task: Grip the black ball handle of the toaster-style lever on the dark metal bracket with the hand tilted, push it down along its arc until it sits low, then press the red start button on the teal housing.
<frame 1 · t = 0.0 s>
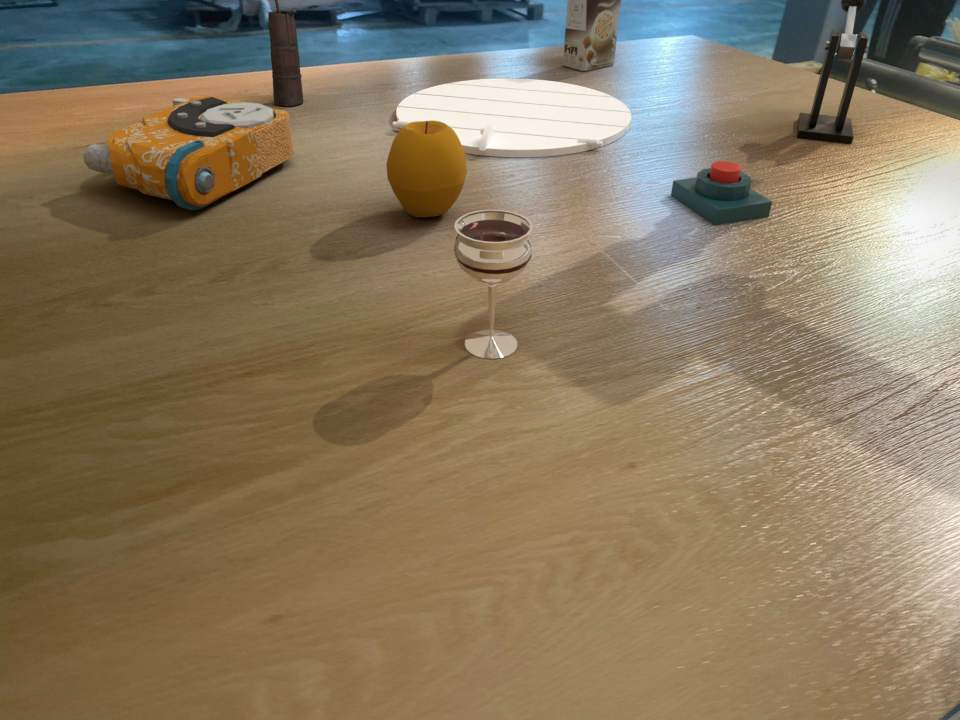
bracket: (823, 131, 123), on the table
wineglass: (491, 345, 71), on the table
lazy susan: (512, 118, 128), on the table
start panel: (718, 206, 98), on the table
apple: (427, 215, 95), on the table
lever: (850, 22, 118), point 16 cm above the table, hinge at 30.0°
device: (205, 170, 107), on the table
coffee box: (588, 66, 157), on the table
start button: (725, 172, 95), point 5 cm above the table, slide at 0.2 cm
butter churn: (295, 104, 134), on the table
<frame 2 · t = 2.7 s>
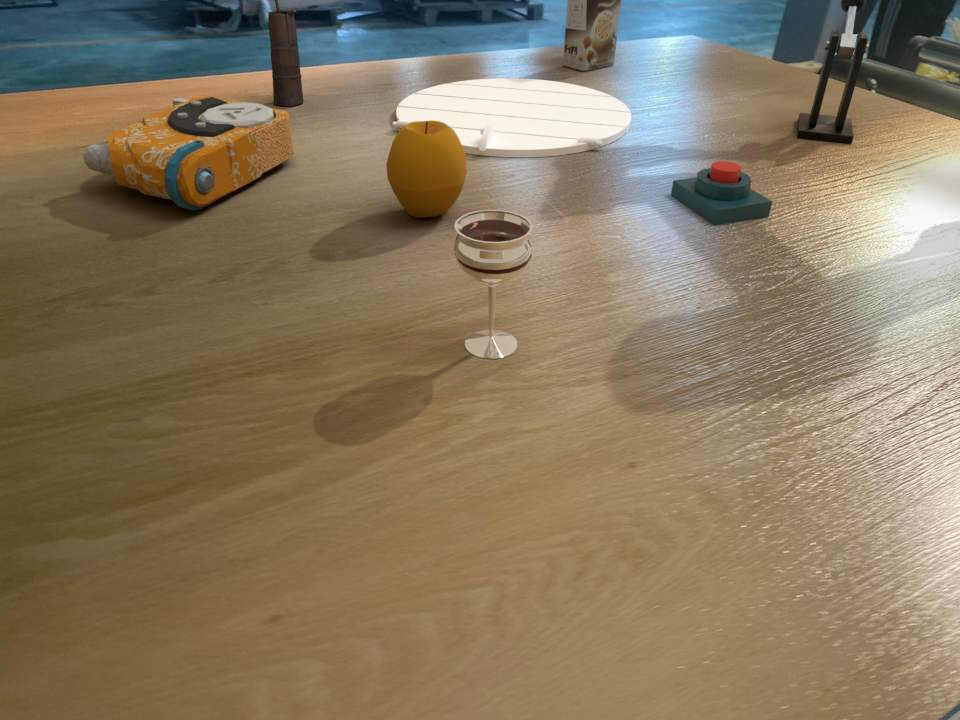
nothing on the table moved.
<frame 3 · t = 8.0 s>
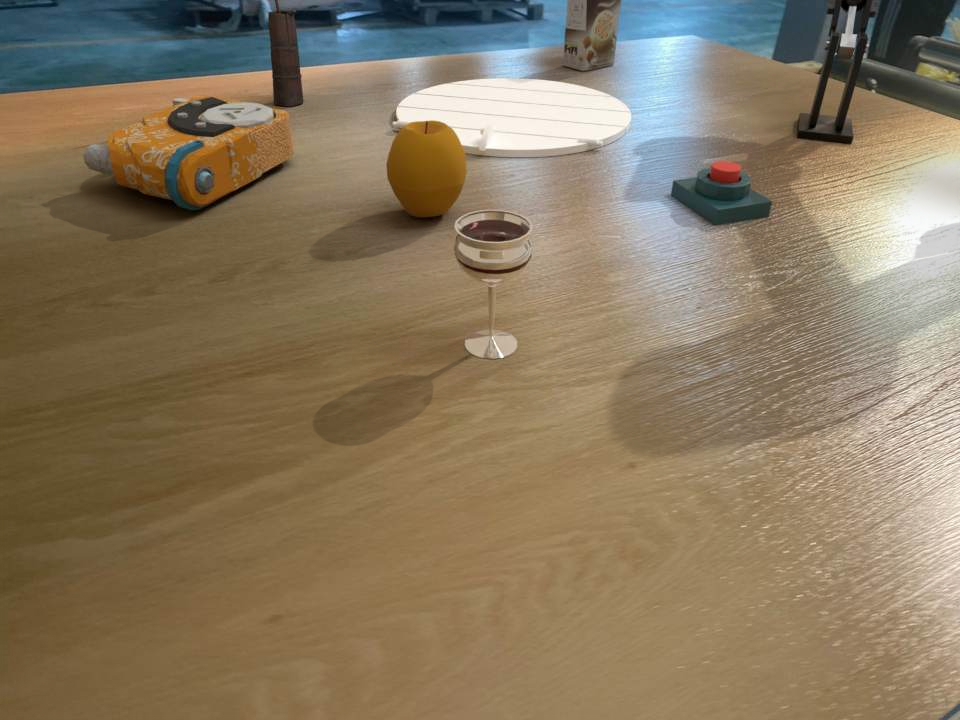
hand: (847, 32, 119), 14 cm above the table, tool tilted 45°, fingers closed on lever, 4 cm apart
lever: (850, 22, 118), point 16 cm above the table, hinge at 30.0°, touching gripper
everything else where it was.
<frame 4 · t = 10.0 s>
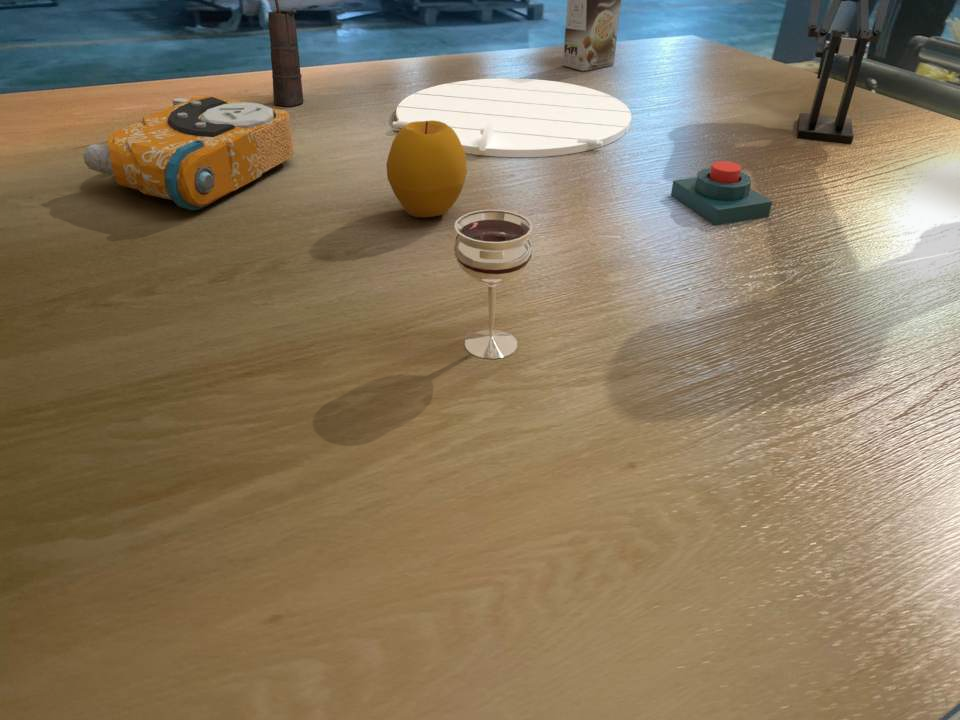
hand: (835, 75, 124), 7 cm above the table, tool tilted 45°, fingers closed on lever, 4 cm apart
lever: (843, 44, 120), point 12 cm above the table, hinge at -8.1°, touching gripper
everything else where it was.
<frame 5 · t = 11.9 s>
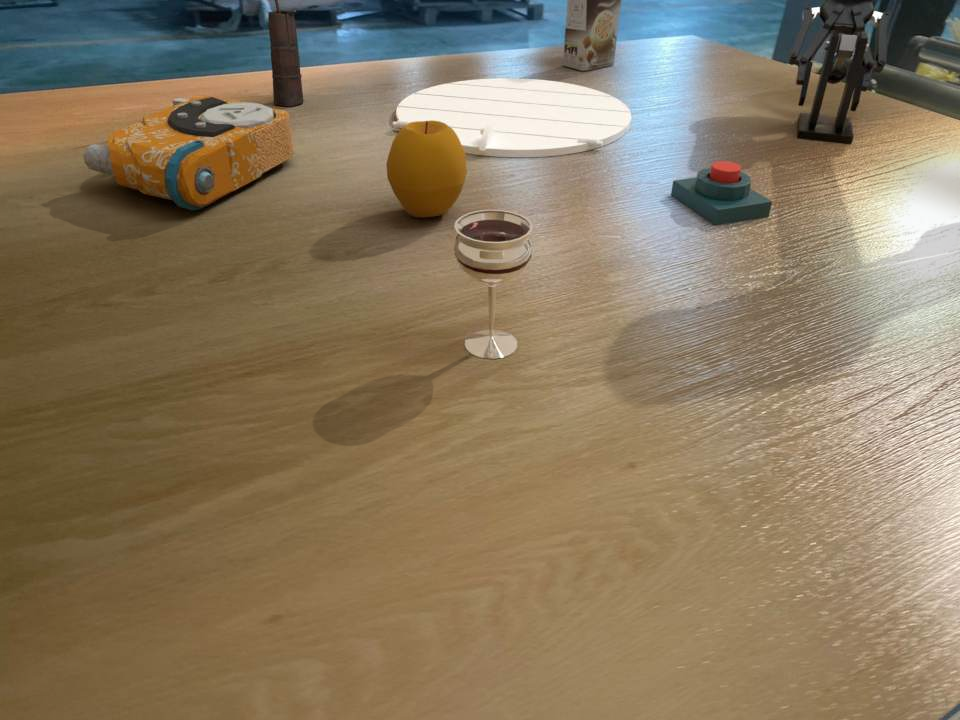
hand: (828, 104, 126), 3 cm above the table, tool tilted 45°, fingers open, 7 cm apart
lever: (840, 60, 121), point 10 cm above the table, hinge at -34.6°
everything else where it was.
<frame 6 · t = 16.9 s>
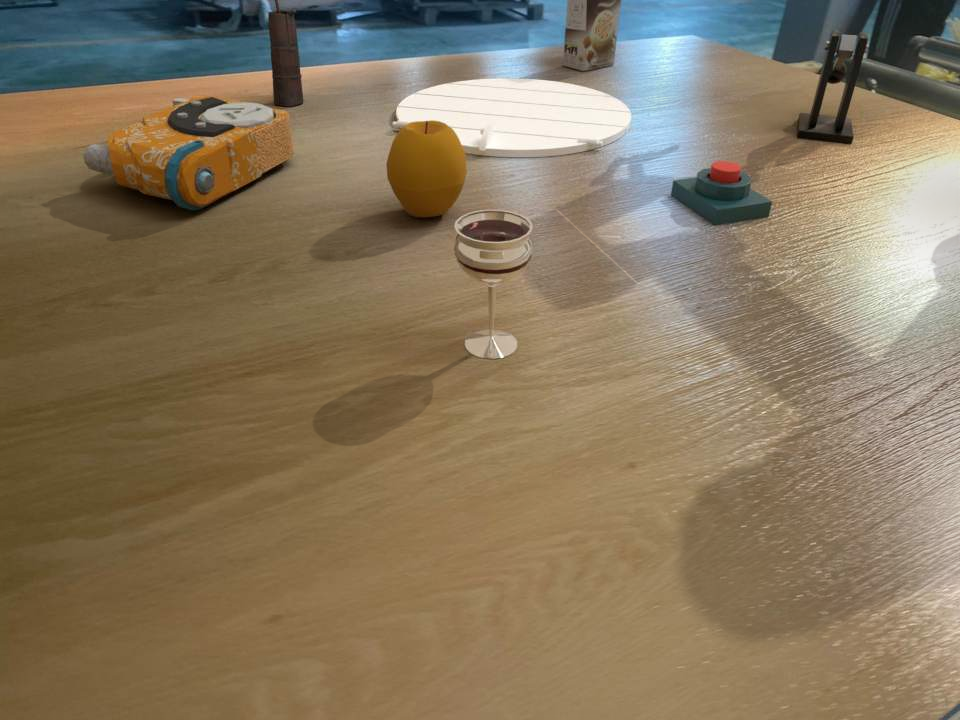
nothing on the table moved.
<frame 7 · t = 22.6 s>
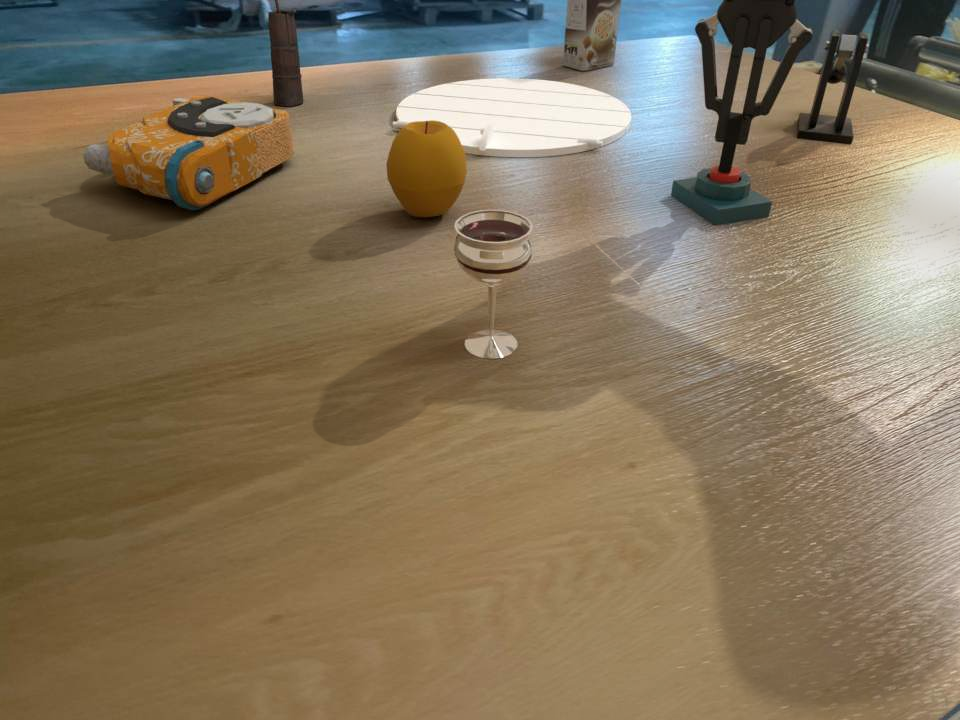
hand: (725, 168, 95), 5 cm above the table, tool pointing down, fingers closed
start button: (724, 176, 96), point 4 cm above the table, slide at -0.4 cm, touching gripper
everything else where it was.
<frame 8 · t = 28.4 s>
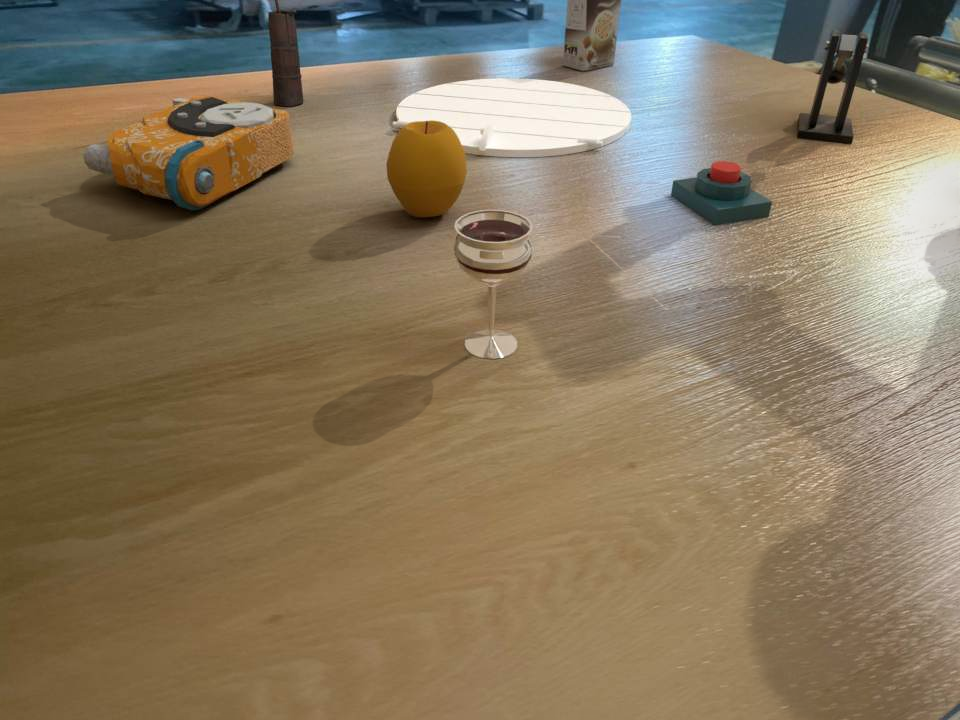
start button: (725, 172, 95), point 5 cm above the table, slide at 0.1 cm
everything else where it was.
at the end: lever at -35° (first picture: +30°); start button pushed in 1.0 cm at the most during the clip, back to where it started at the end; start button slide at 0.1 cm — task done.
